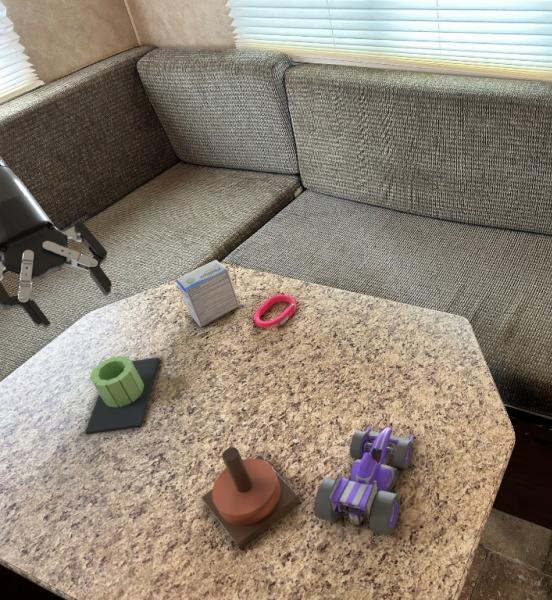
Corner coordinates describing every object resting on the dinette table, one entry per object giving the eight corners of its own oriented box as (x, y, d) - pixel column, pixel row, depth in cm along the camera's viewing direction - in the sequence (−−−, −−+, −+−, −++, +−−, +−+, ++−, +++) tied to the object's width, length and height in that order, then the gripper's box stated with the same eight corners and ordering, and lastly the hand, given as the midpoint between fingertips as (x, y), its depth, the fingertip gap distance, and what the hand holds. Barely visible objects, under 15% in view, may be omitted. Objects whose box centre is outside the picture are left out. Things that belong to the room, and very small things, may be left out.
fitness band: (275, 333, 103) (273, 326, 102) (248, 324, 105) (246, 317, 104) (302, 304, 108) (301, 297, 107) (276, 296, 110) (275, 290, 109)
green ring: (113, 414, 91) (99, 392, 88) (97, 392, 95) (84, 370, 92) (150, 391, 94) (138, 369, 91) (133, 372, 98) (122, 350, 94)
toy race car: (424, 442, 83) (421, 412, 79) (390, 543, 72) (384, 514, 68) (359, 429, 85) (352, 399, 81) (317, 525, 75) (307, 496, 71)
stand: (240, 550, 73) (215, 503, 66) (204, 503, 79) (178, 455, 72) (300, 502, 77) (283, 453, 71) (262, 461, 83) (243, 411, 76)
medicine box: (229, 296, 112) (216, 258, 106) (241, 307, 109) (228, 268, 103) (190, 316, 108) (174, 278, 102) (201, 328, 105) (185, 290, 100)
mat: (140, 427, 89) (139, 424, 89) (86, 434, 89) (84, 431, 89) (160, 359, 100) (159, 357, 100) (111, 366, 100) (110, 363, 100)
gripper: (-57, 223, 74) (25, 331, 75) (57, 176, 81) (130, 275, 82) (-48, 244, 80) (27, 344, 81) (57, 198, 88) (124, 290, 89)
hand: (79, 309), depth 82 cm, fingers open, 8 cm apart
